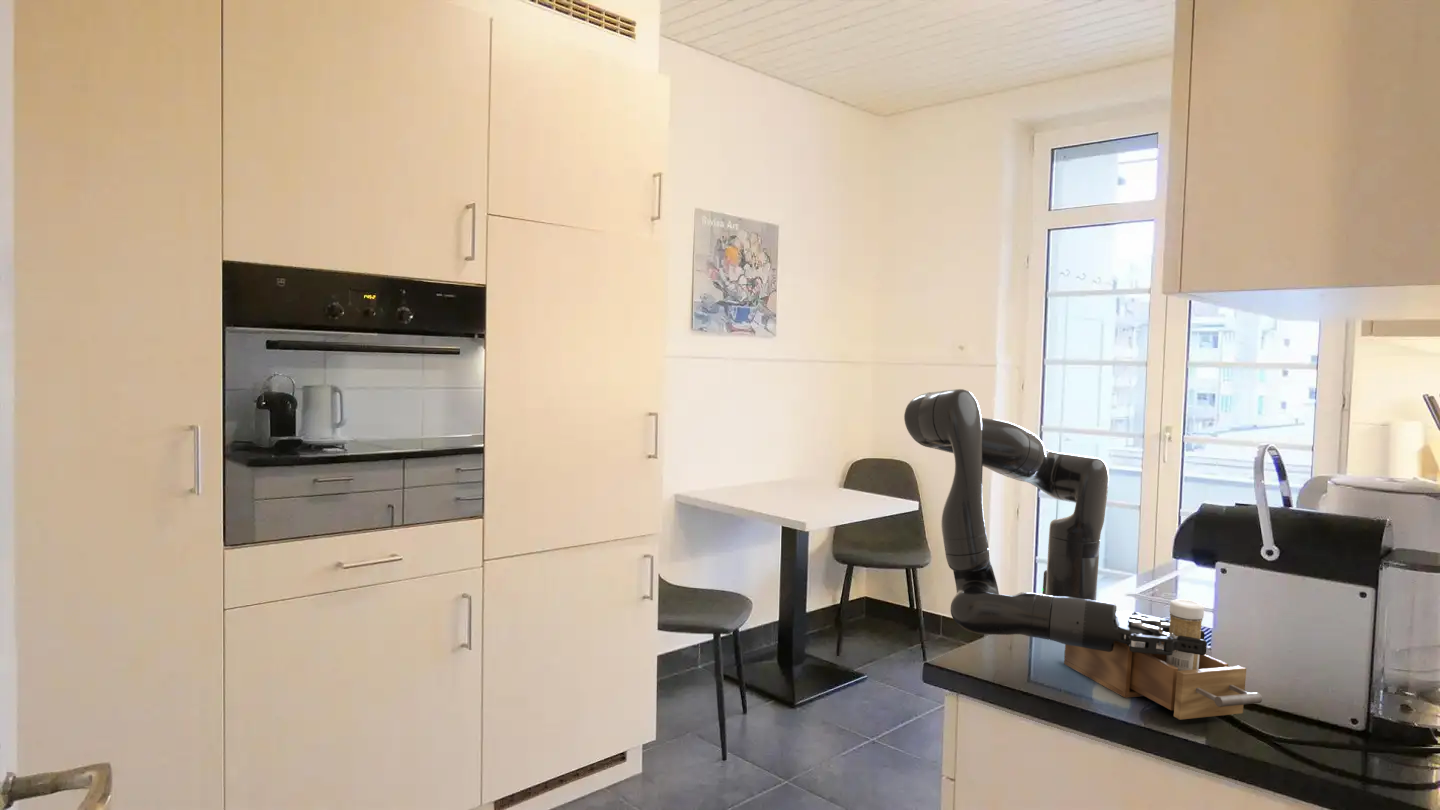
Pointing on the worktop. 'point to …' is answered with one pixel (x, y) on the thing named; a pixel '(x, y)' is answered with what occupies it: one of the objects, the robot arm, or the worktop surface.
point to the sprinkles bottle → (1185, 631)
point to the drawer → (1192, 686)
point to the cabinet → (1104, 665)
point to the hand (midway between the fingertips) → (1204, 642)
